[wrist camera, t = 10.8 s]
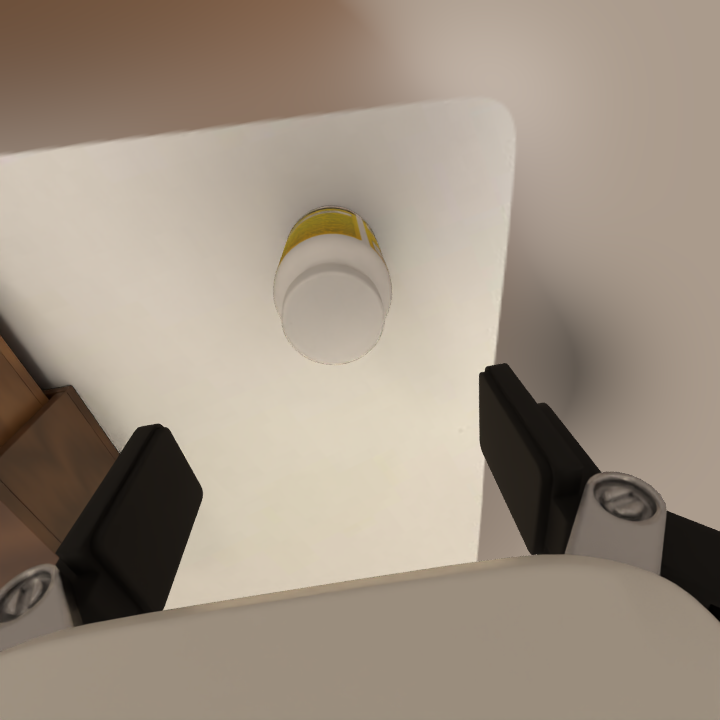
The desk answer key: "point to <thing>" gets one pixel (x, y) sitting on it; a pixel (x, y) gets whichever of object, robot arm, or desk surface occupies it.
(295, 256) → the pill bottle
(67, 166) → the desk surface
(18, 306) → the desk surface
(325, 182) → the desk surface
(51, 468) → the cabinet
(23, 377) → the drawer
